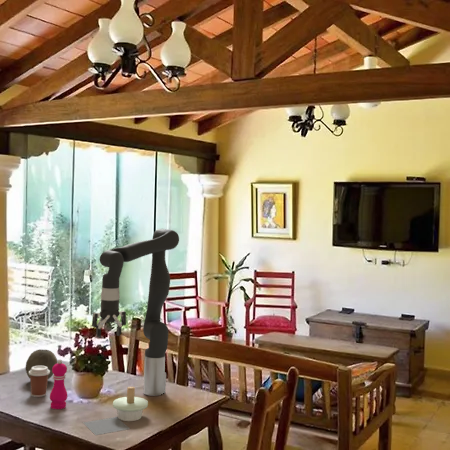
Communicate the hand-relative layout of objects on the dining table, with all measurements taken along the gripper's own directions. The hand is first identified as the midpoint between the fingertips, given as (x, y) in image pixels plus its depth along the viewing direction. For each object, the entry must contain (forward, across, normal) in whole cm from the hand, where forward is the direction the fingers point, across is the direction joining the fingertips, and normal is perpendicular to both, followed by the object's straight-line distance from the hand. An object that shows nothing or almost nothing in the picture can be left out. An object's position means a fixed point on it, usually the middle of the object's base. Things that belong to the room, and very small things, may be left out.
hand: (108, 336), depth 255 cm
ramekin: (+30, -4, +16) cm, 35 cm away
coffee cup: (+30, +21, -27) cm, 46 cm away
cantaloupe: (+30, +15, -45) cm, 56 cm away
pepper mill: (+30, +18, -8) cm, 36 cm away
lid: (+25, -4, +16) cm, 30 cm away
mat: (+30, +8, +21) cm, 38 cm away
